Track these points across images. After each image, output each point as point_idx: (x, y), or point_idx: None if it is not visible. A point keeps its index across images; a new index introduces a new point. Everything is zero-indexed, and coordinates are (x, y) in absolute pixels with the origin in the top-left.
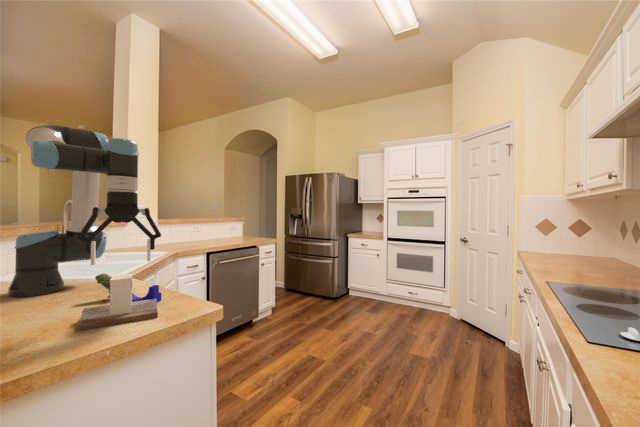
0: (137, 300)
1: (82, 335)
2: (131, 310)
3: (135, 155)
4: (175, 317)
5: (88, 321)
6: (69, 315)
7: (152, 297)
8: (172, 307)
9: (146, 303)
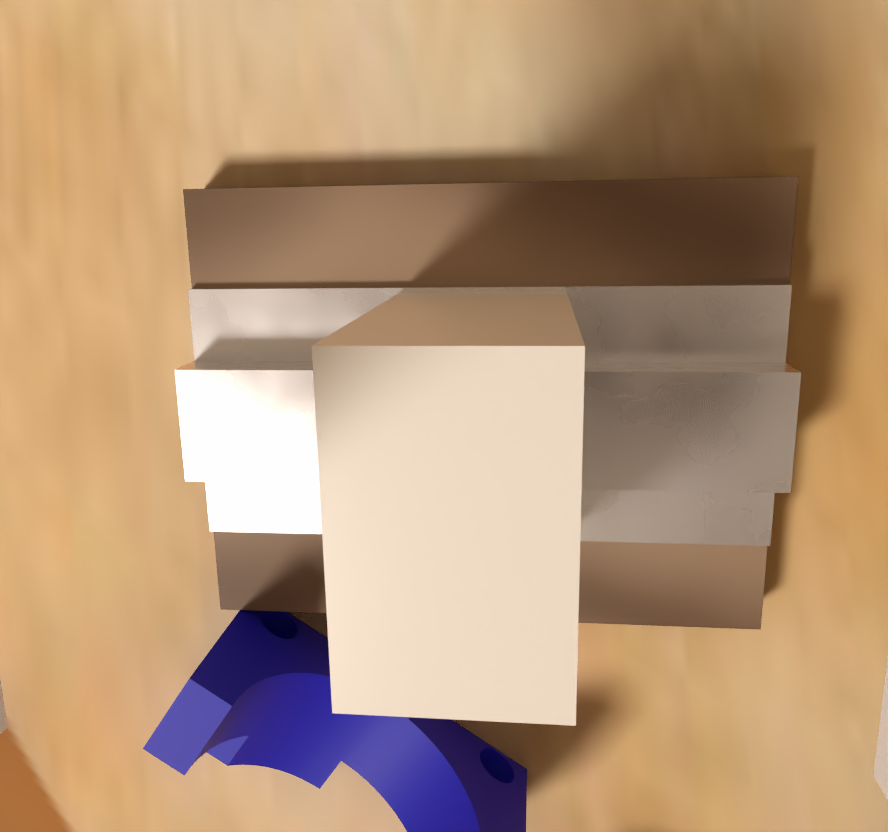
0: None
1: (743, 36)
2: None
3: None
4: (61, 105)
5: (725, 240)
6: (876, 654)
7: (238, 627)
8: (97, 415)
9: (266, 370)
